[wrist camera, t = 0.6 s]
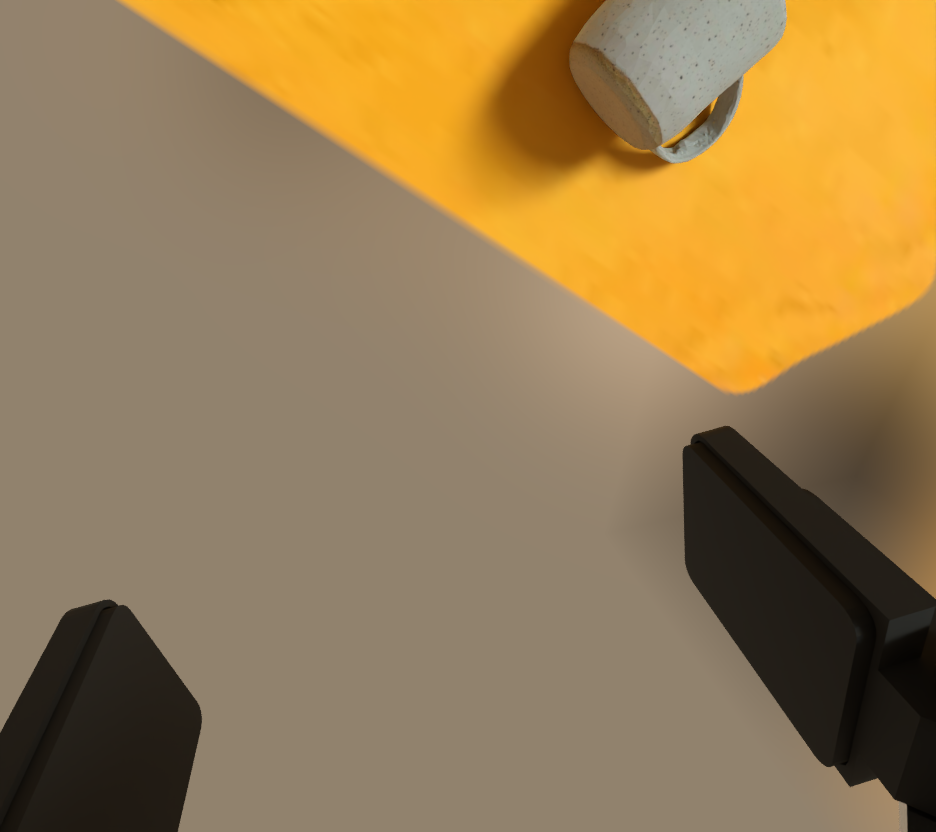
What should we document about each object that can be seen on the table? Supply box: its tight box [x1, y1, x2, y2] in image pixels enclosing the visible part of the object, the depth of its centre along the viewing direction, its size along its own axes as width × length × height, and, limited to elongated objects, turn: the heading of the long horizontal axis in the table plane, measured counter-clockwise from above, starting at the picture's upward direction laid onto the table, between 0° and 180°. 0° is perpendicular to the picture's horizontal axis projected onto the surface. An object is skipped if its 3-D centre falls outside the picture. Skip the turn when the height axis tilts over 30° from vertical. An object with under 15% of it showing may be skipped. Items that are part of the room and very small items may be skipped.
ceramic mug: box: [569, 0, 787, 163], centre depth 31 cm, size 11×8×8 cm
